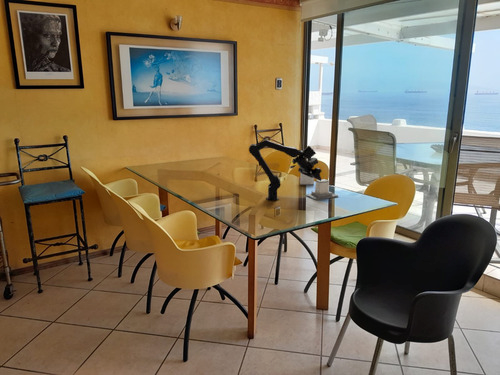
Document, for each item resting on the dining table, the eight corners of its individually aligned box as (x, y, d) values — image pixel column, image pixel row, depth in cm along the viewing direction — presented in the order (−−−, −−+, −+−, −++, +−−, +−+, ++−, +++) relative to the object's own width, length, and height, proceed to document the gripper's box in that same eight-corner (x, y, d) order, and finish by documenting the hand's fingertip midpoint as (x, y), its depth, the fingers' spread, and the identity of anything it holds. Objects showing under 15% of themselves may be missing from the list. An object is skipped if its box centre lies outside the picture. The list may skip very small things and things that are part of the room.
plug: (315, 194, 248) (315, 180, 245) (323, 193, 251) (324, 179, 248) (319, 196, 244) (320, 181, 241) (328, 195, 247) (329, 180, 244)
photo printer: (300, 184, 279) (301, 168, 276) (299, 183, 283) (300, 167, 280) (314, 184, 279) (315, 168, 276) (313, 183, 283) (314, 167, 280)
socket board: (305, 195, 249) (305, 191, 248) (326, 192, 257) (327, 188, 256) (315, 200, 238) (316, 195, 238) (338, 197, 246) (338, 192, 245)
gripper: (319, 156, 228) (333, 172, 235) (302, 151, 244) (315, 166, 252) (308, 169, 226) (322, 185, 234) (292, 164, 243) (305, 179, 250)
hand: (316, 178), depth 242 cm, fingers open, 9 cm apart
